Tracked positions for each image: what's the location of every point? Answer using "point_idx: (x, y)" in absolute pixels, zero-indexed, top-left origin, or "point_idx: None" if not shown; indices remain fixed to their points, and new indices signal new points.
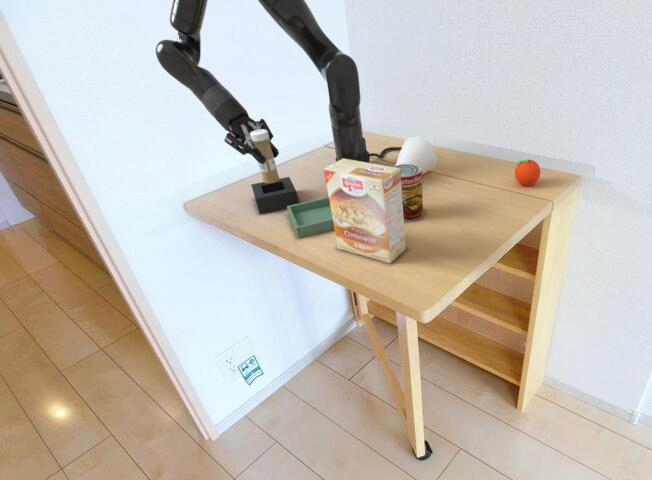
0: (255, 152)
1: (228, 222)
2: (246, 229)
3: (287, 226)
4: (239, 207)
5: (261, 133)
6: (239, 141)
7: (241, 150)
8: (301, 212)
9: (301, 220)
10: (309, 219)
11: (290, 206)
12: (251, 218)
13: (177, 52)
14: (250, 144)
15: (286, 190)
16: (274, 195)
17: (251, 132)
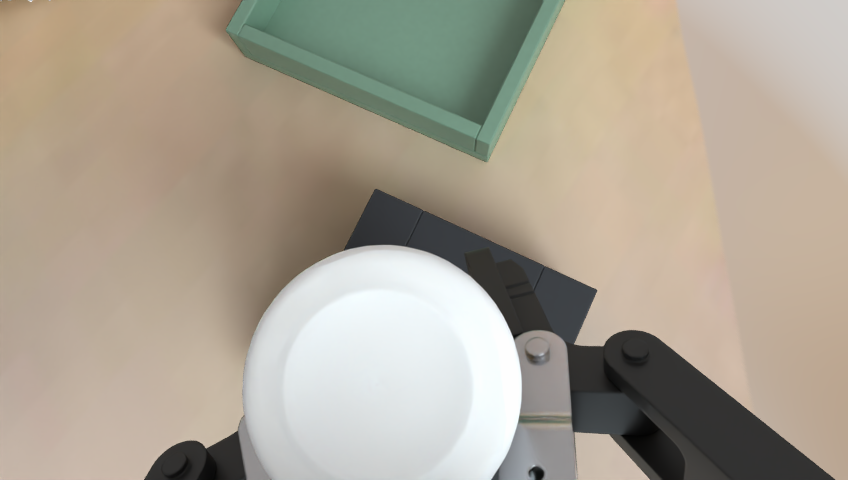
0: (530, 320)
1: (737, 358)
2: (705, 210)
3: (554, 79)
4: (607, 477)
5: (405, 255)
6: (710, 436)
7: (657, 433)
8: (444, 109)
9: (495, 43)
10: (465, 24)
11: (479, 125)
12: (629, 294)
13: None
14: (554, 378)
15: (408, 235)
16: (491, 242)
17: (471, 460)
